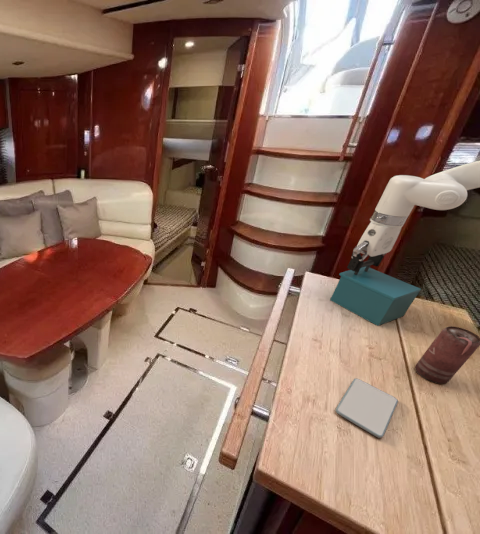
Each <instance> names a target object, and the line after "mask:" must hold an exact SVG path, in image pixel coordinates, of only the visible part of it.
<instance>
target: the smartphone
mask: <svg viewBox="0 0 480 534" xmlns="http://www.w3.org/2000/svg"><path fill="white" fill-rule="evenodd" d="M398 404H399V400H398V399H397V397H396V396H393V395H391V394H389V393H387V392H385V391H384V390H382V389H379V388H377V387H375V386H374V385H372V384H370V383H368V382H366V381H363V380H362V379H360V378H353V380H352V381H351V383H350V385H349V386H348V388H347V390H346V391H345V393H344V395H343V396H342V398H341V400H340V401H339V402H338V405H337V406H336V408H335V412H336V414H337V415H339V416H340V417H342V418H344V419H345V420H347V421H349V422H351V423H353V424H354V425H356V426H357V427H359V428H361V429H362V430H364V431H366V432H368V434H370V435H372V436H374V437H376V438H378V439H383V437H384V436H385V433H386V432H387V429H388V426H389V424H390V422H391V419H392V417H393V415H394V412H395V410H396V408H397V405H398Z"/></svg>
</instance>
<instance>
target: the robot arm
mask: <svg viewBox="0 0 480 534" xmlns="http://www.w3.org/2000/svg"><path fill="white" fill-rule="evenodd" d="M479 188H480V160H476V161H472V162H467V163H465V164H462V165H461V164H460V165H458V166H455V167H452V168H449V169H446V170H445V169H444V170H443V171H440V172H437V173H434V174H432V175H429V176H427V177H425V178H423V177H420V176H415V175H409V174H399V175H394V176H393V177H391V178H390V179H389V181H388V183H387V184H386V186H385V188H384V190H383V193H382V194H381V197H380V199H379V201H378V202H377V204H376V207H375V209H374V211H373V212H372V214H371V216H370V218H369V221H370V222H369V224H368V225H367V226H366V229H365V230H364V232H363V234H362V235H361V237H360V239H359V240H358V243H357V245H356V246H355V247H354V248H353V250H352V253H351V257H350V260H349V262H348V264H347V266H346V268H347V270H352V271H354V272H359V270H360V268H361V266H362V264H363V263H364V262H365V261H364V260H365V259H366V258H367V257H368V259H367V260H366V261H369V260H373V261H374V264H373V265H372V266H373V267H379V266H380V264H381V262H382V261H383V260H384V257H385V255H387V253H390V252H391V251H392V250H393V248H394V245H395V244H396V242H397V240H398V238H399V235H400V233H401V231H402V228H403V227H404V225H405V224H406V222H407V220H408V218H409V216H410V214H411V213H412V210H413V209H414V207H415V206H419V207H421V208H422V207H423V208H427V209H430V210H436V211H447V210H448V211H449V210H453V209H455V208H457V207H460V206H461V205H463V204H464V202H465V201H466V200H467V198H468V191H470V190H474V189H479ZM361 254H362V255H361Z"/></svg>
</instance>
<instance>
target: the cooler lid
mask: <svg viewBox="0 0 480 534" xmlns="http://www.w3.org/2000/svg"><path fill="white" fill-rule="evenodd" d="M373 264H374V261H373V260H369V261H367V260H365V261H364V263H363V264H362V266H361V268H360V270H359V272H354V271H352V270H350V269H347V270H345V271H343V272H339V274H338V275H339V276H340V277H341V276H342V277H344V278H347V279H349V280H351V281H353V282H355V283H357V284H359V285H362V286H364V287H366V288H368V289H370V290H372V291H375V292H377V293H379V294H381V295H383V296H385V297H388V298H390V299H392V300H396V299H399V298H401V297H404V296H407V295H410V294H413V293H416V292H418V291H420V292H421V290H422V288H420V287H417V286H415V285H412V284H410V283H408V282H406V281H403V280H401V279H398V278H397V277H394V276H391V275H389V274H386V273H383V272H382V271H379V270H376V269H374V268H372V267H371V266H374V265H373Z"/></svg>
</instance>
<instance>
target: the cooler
mask: <svg viewBox="0 0 480 534" xmlns="http://www.w3.org/2000/svg"><path fill="white" fill-rule="evenodd" d="M420 292H421V290H420V291H418V292H416V293H413V294H410V295H407V296H404V297H401V298H399V299H396V300H392V299H390V298H388V297H385V296H383V295H381V294H379V293H377V292H375V291H372V290H370V289H368V288H366V287H364V286H362V285H359V284H357V283H355V282H353V281H351V280H349V279H347V278H344V277H342V276H340V278H339V280H338V281H337V284H336V286H335V288H334V290H333V293H332V294H331V297H330V299H329V301H331V302H332V303H334V304H336V305H338V306H340V307H342V308H343V309H345V310H347V311H349V312H351V313H353V314H355V315H356V316H359V317H360V318H362V319H364V320H366V321H368V322H370V323H371V324H373V325H375V326H377V327H380V326H382V325H384V324H387V323H390V322H392V321H395V320H398V319H400V318H404V316H405V315H406V313H407V311H408V310H409V308H411V306H412V304H413V302H414V301H415V300H416V298H417V296H418V295H419V293H420Z"/></svg>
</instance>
